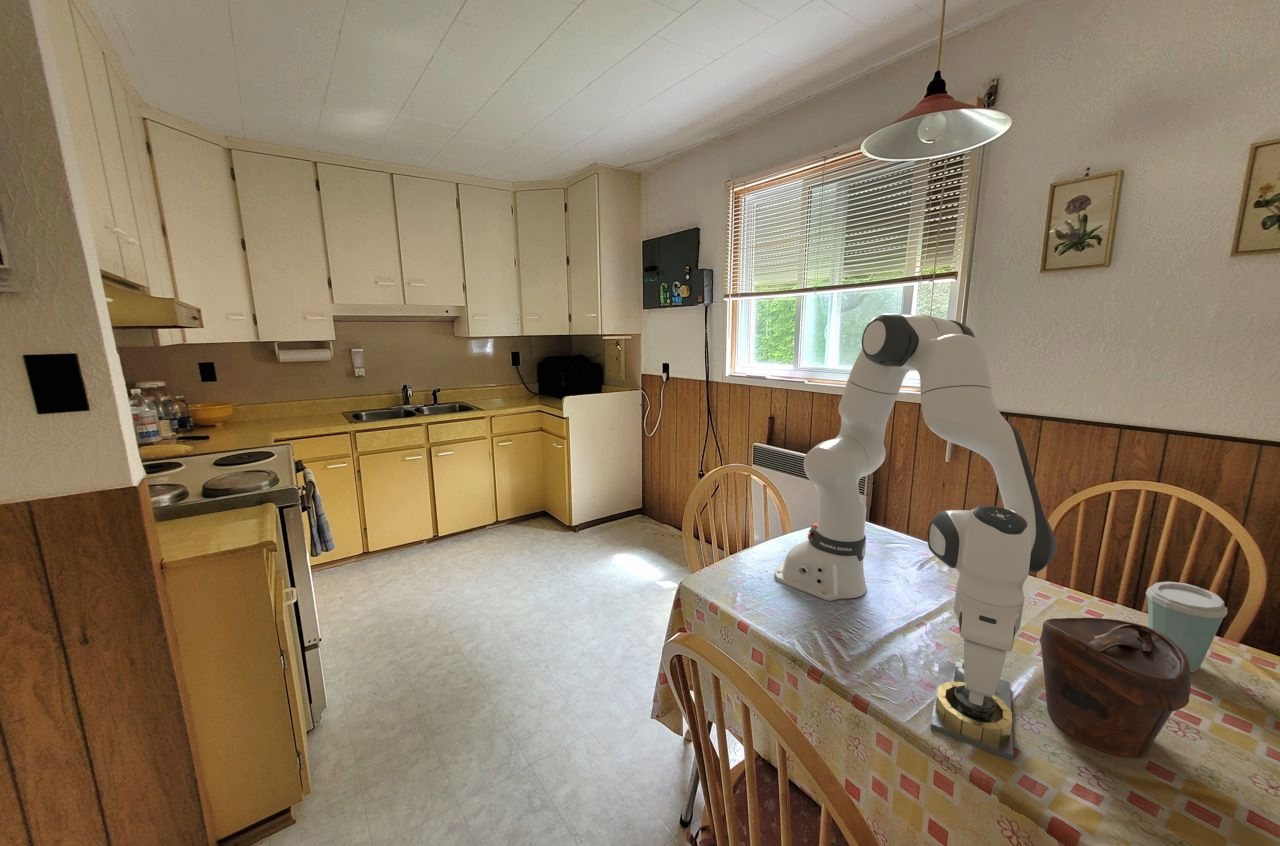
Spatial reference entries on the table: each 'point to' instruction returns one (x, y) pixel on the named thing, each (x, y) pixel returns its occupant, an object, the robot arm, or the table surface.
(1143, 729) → the case
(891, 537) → the table surface
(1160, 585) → the disposable coffee cup
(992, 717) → the socket plate
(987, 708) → the stone chess piece
